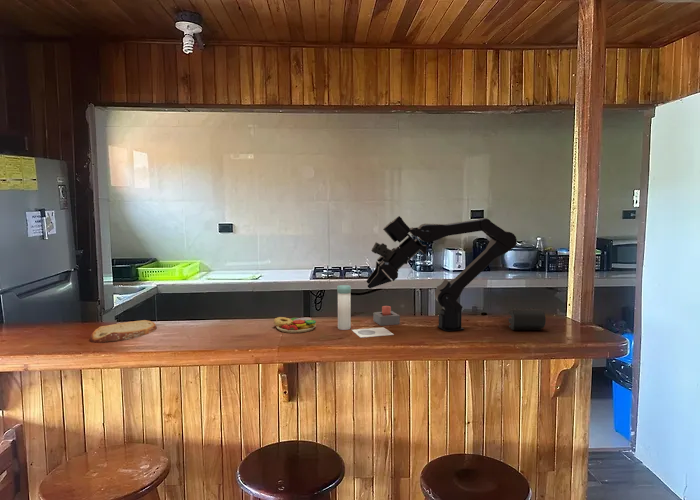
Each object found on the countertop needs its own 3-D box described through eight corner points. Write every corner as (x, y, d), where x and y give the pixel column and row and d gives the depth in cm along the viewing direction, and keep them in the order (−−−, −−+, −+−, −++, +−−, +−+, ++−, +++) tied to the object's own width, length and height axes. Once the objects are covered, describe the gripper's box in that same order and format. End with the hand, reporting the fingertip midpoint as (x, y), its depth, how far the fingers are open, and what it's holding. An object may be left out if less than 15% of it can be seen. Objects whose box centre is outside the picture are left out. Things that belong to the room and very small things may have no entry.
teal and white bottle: (348, 326, 166) (348, 284, 164) (352, 329, 162) (352, 286, 160) (336, 327, 164) (335, 285, 163) (339, 330, 160) (339, 287, 159)
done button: (388, 316, 172) (388, 305, 172) (392, 318, 169) (392, 307, 169) (380, 317, 171) (380, 306, 171) (383, 319, 168) (383, 307, 168)
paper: (383, 327, 163) (383, 326, 163) (393, 334, 155) (393, 333, 155) (351, 330, 160) (351, 329, 160) (360, 337, 152) (360, 336, 152)
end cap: (514, 332, 158) (514, 311, 157) (507, 326, 165) (507, 306, 164) (545, 332, 158) (546, 311, 157) (537, 326, 165) (537, 306, 164)
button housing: (392, 319, 175) (392, 311, 175) (399, 324, 168) (399, 315, 168) (373, 320, 173) (373, 312, 173) (380, 325, 166) (380, 316, 166)
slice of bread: (158, 326, 168) (157, 315, 167) (152, 340, 151) (152, 328, 150) (99, 330, 163) (99, 318, 162) (87, 345, 146) (86, 332, 145)
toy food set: (270, 326, 166) (270, 317, 166) (307, 322, 172) (307, 313, 172) (284, 336, 155) (284, 326, 154) (322, 331, 161) (322, 321, 160)
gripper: (385, 232, 169) (351, 262, 170) (389, 236, 150) (351, 270, 151) (406, 256, 169) (372, 286, 170) (413, 263, 151) (375, 297, 152)
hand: (367, 284), depth 161 cm, fingers open, 9 cm apart
